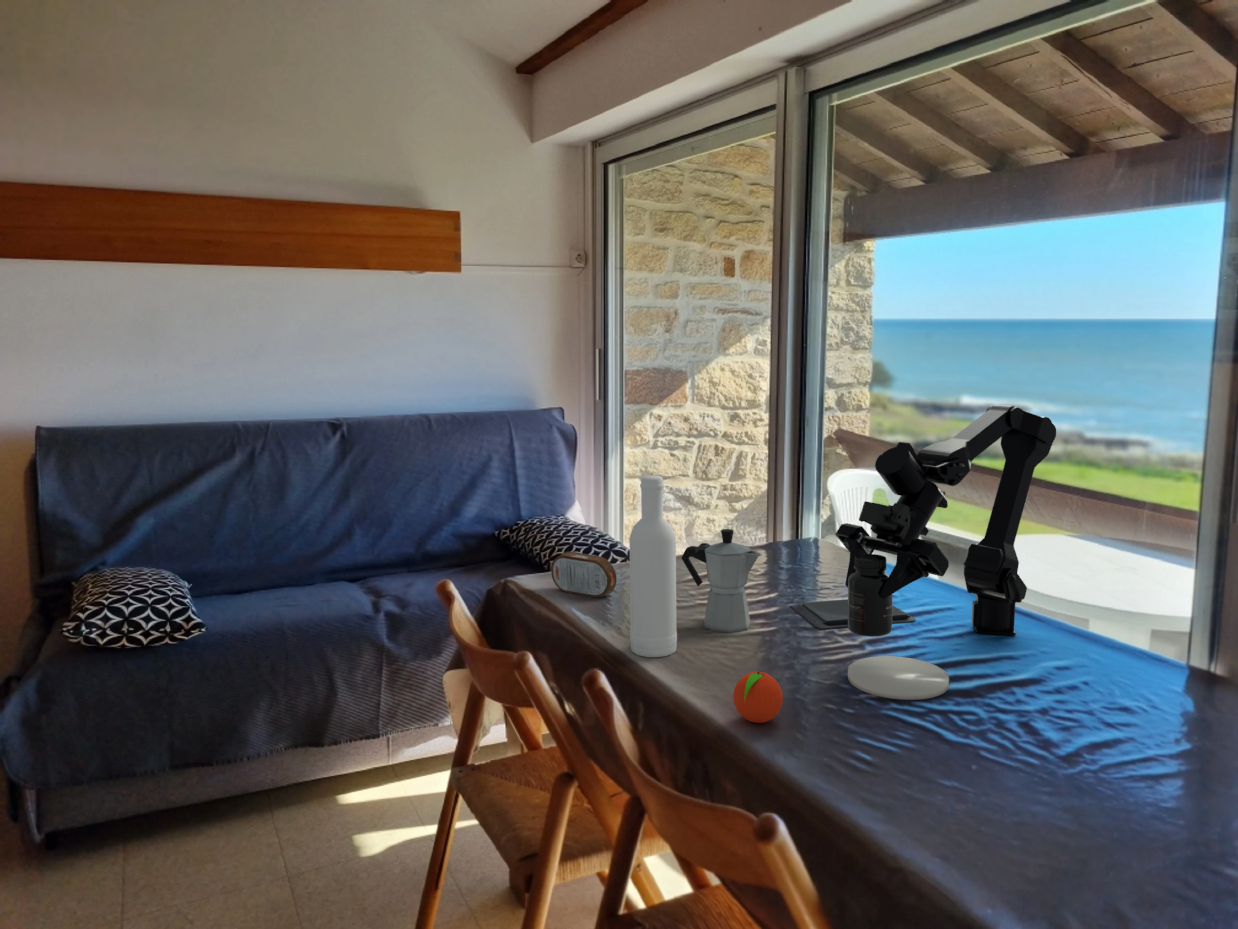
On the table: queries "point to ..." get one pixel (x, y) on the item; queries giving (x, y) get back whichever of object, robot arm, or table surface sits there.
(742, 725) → the table surface
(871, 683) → the saucer
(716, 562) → the coffee maker
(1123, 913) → the table surface
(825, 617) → the dark grey flat block
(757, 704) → the clementine
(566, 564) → the tin
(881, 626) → the supplement bottle
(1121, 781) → the table surface
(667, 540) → the bottle
